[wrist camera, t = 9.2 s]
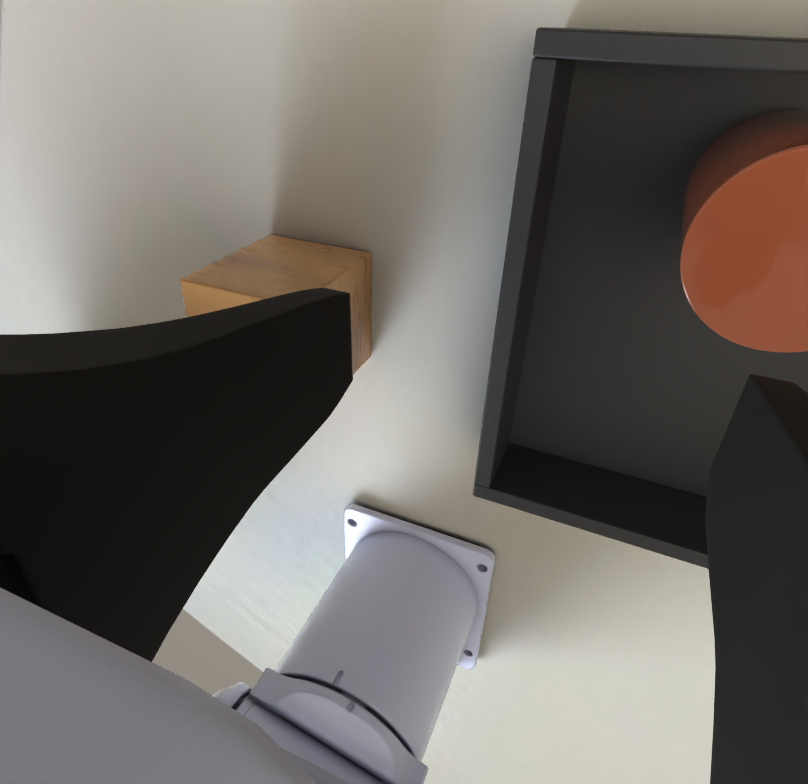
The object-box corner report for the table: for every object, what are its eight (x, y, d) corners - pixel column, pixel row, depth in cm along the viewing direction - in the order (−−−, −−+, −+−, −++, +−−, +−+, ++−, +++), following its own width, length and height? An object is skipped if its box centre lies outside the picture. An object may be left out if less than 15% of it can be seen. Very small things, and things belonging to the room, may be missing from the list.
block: (371, 356, 24) (305, 424, 20) (280, 333, 26) (200, 393, 22) (372, 252, 22) (296, 305, 18) (270, 233, 23) (178, 278, 19)
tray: (878, 549, 20) (908, 631, 17) (496, 443, 24) (472, 496, 21) (1232, 56, 12) (1397, 65, 9) (562, 27, 16) (536, 27, 13)
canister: (822, 280, 16) (871, 373, 12) (664, 255, 17) (655, 331, 13) (898, 116, 14) (995, 157, 9) (709, 101, 15) (717, 131, 11)
